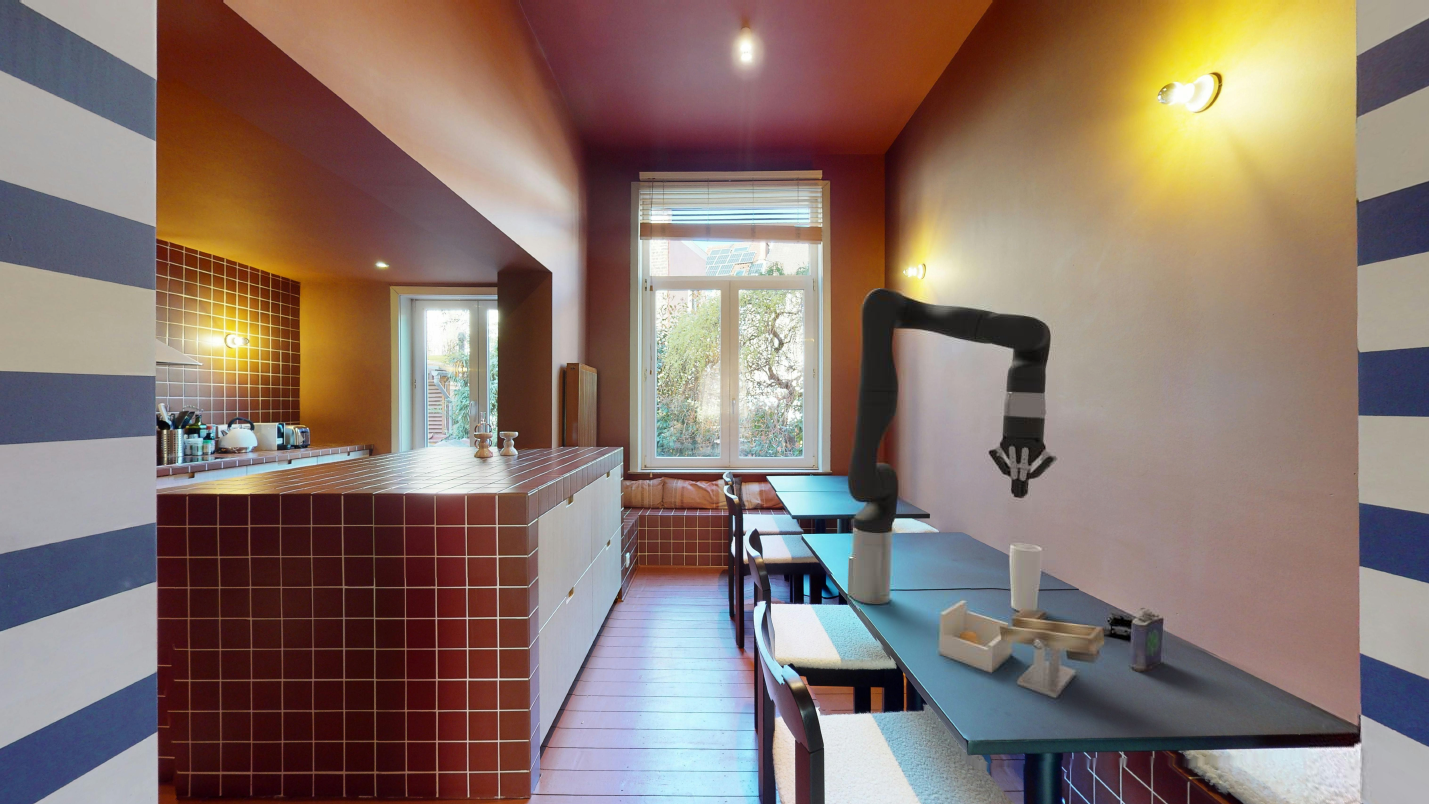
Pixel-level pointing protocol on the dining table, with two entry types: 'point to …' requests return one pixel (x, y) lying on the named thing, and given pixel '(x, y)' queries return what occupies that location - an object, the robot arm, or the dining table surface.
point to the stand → (1046, 671)
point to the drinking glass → (1025, 575)
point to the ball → (969, 637)
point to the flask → (1146, 641)
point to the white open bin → (979, 656)
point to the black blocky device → (1120, 622)
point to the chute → (1055, 635)
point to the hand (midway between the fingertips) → (1019, 497)
